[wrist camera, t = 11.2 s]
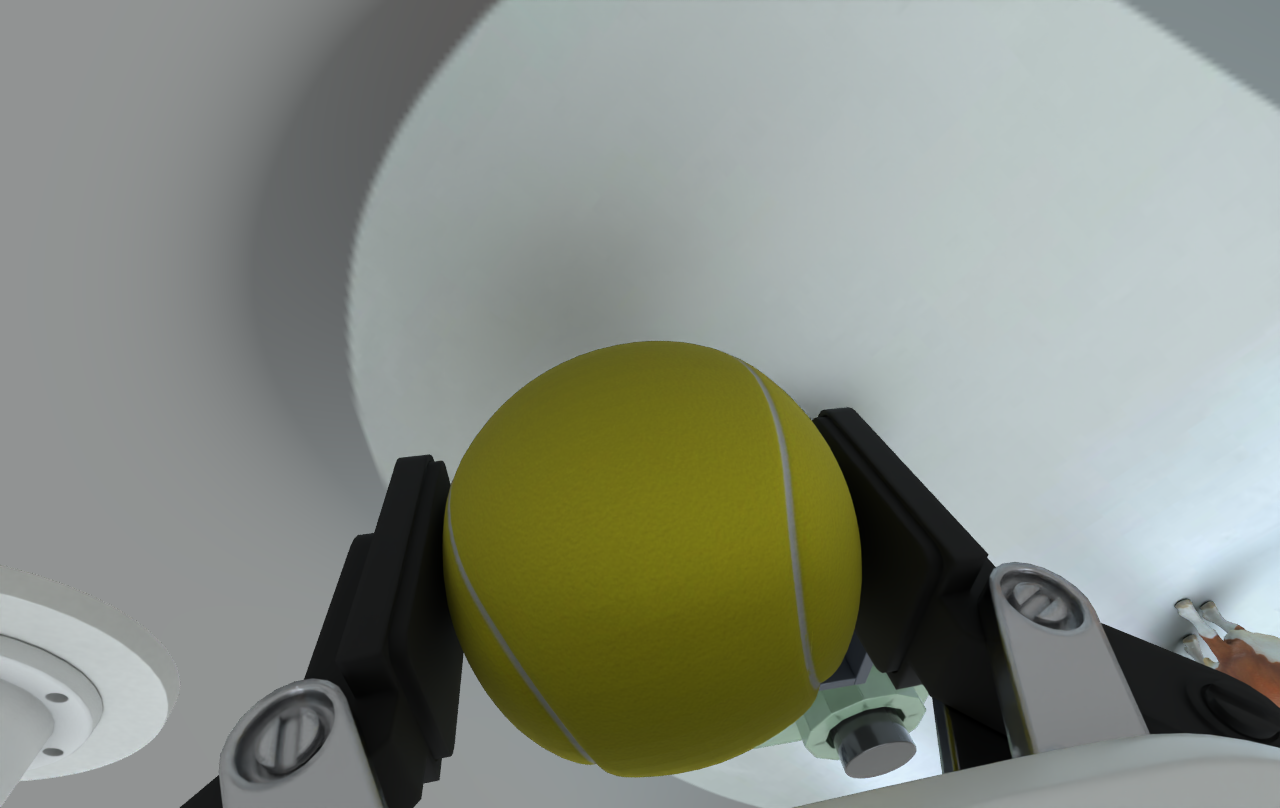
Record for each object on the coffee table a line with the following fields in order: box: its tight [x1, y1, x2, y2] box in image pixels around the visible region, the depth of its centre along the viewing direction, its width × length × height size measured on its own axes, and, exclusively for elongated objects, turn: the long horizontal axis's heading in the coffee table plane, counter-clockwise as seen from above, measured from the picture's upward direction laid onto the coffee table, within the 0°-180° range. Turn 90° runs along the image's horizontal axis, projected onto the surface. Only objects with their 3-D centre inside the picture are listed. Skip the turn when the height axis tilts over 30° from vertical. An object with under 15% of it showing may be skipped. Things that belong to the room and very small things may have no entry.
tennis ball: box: [442, 341, 862, 777], centre depth 10 cm, size 7×7×7 cm
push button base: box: [753, 664, 929, 760], centre depth 32 cm, size 11×9×4 cm
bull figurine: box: [1175, 599, 1280, 708], centre depth 36 cm, size 4×13×8 cm, turn 9°
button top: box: [829, 707, 916, 778], centre depth 30 cm, size 4×4×2 cm
